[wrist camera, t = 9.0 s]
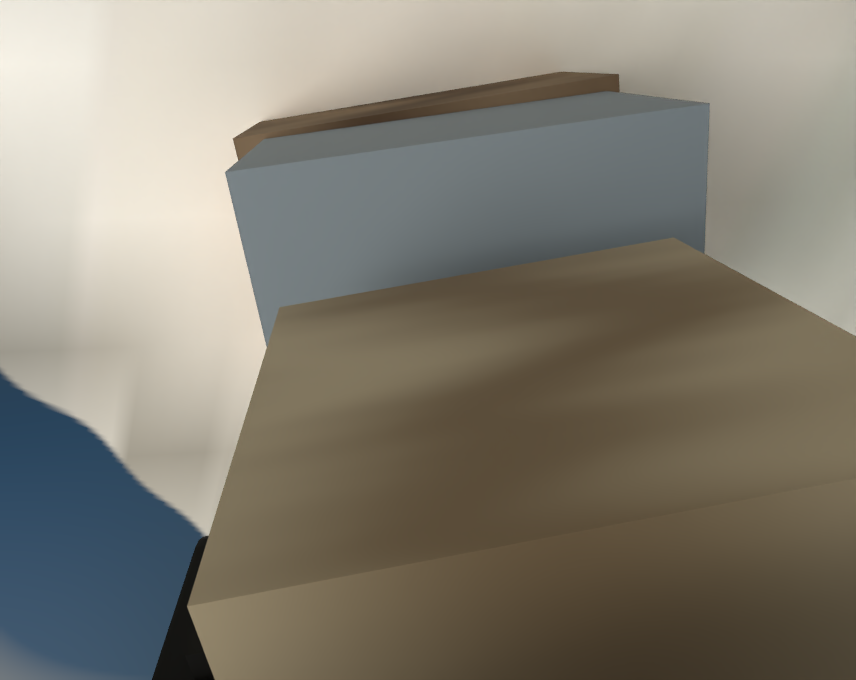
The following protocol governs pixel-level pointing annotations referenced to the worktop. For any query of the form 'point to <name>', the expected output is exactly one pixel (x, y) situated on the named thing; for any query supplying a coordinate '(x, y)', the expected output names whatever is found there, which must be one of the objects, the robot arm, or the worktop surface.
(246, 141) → the tower base
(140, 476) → the worktop surface
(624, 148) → the tower top
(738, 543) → the oak cube
